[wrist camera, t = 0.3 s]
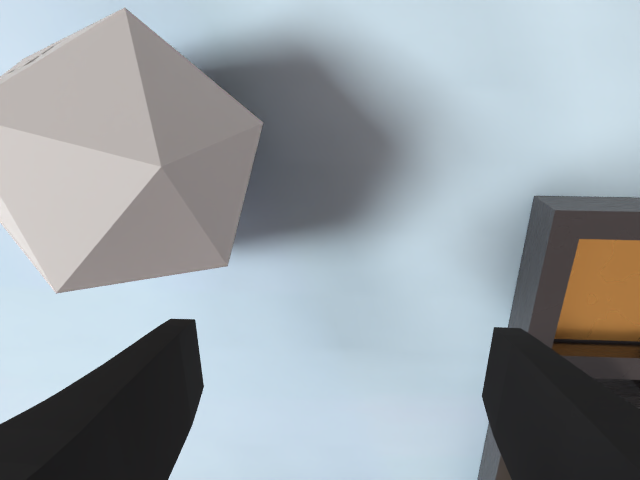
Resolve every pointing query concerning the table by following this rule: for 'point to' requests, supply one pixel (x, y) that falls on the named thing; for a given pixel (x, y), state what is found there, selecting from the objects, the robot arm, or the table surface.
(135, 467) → the robot arm
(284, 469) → the table surface
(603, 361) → the rail
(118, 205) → the die
